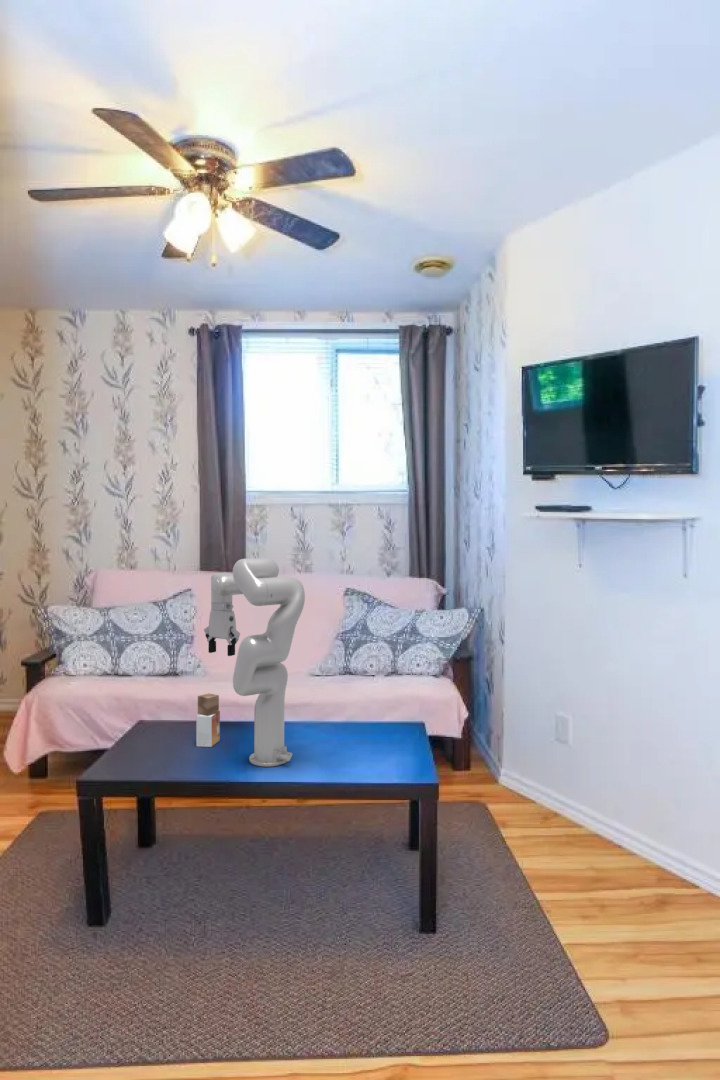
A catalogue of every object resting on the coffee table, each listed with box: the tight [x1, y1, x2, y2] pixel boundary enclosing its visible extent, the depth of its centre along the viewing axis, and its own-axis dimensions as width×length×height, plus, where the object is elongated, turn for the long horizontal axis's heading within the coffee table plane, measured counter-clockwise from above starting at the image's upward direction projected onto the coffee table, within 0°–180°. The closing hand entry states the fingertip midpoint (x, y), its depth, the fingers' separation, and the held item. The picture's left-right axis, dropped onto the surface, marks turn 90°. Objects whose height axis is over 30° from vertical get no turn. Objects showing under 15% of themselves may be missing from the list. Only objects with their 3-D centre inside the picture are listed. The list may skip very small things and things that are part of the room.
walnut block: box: [197, 693, 220, 716], centre depth 230 cm, size 5×5×6 cm
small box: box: [195, 710, 221, 748], centre depth 230 cm, size 8×6×10 cm
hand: (221, 653), depth 243 cm, fingers open, 9 cm apart
